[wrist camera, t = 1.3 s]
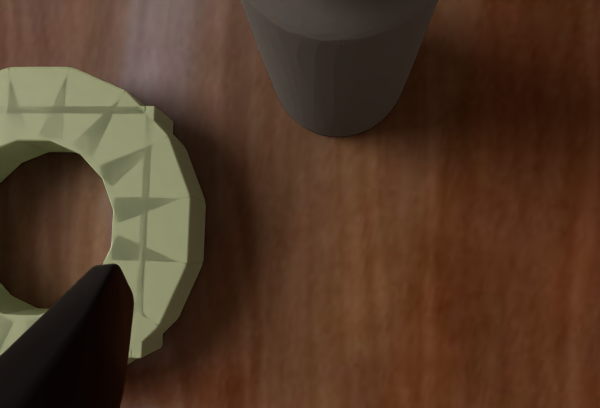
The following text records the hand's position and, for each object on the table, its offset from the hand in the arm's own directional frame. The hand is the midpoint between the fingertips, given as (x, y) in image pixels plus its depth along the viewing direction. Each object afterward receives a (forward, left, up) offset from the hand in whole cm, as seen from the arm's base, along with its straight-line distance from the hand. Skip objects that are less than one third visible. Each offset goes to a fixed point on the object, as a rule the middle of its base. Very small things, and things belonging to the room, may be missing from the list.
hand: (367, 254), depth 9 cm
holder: (+11, +7, -13) cm, 19 cm away
